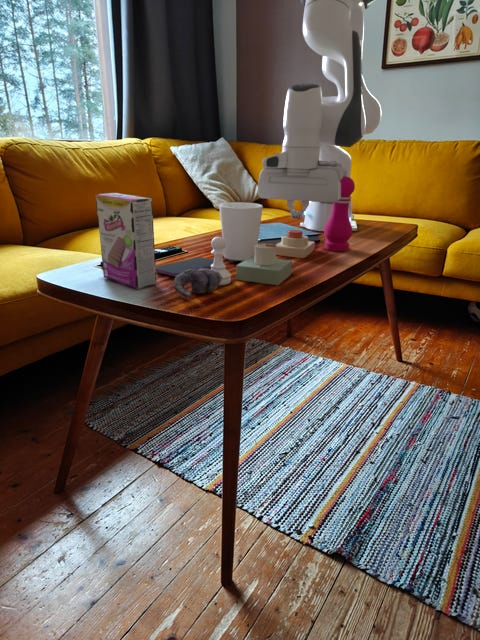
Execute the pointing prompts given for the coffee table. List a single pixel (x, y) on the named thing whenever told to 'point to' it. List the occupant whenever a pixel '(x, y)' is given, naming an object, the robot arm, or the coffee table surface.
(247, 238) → the cup
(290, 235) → the button
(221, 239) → the chess pawn
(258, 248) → the knob
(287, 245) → the button box
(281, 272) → the dial panel
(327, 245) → the pepper mill
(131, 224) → the candy bar box
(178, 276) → the grey elephant figurine
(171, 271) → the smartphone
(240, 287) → the coffee table surface
